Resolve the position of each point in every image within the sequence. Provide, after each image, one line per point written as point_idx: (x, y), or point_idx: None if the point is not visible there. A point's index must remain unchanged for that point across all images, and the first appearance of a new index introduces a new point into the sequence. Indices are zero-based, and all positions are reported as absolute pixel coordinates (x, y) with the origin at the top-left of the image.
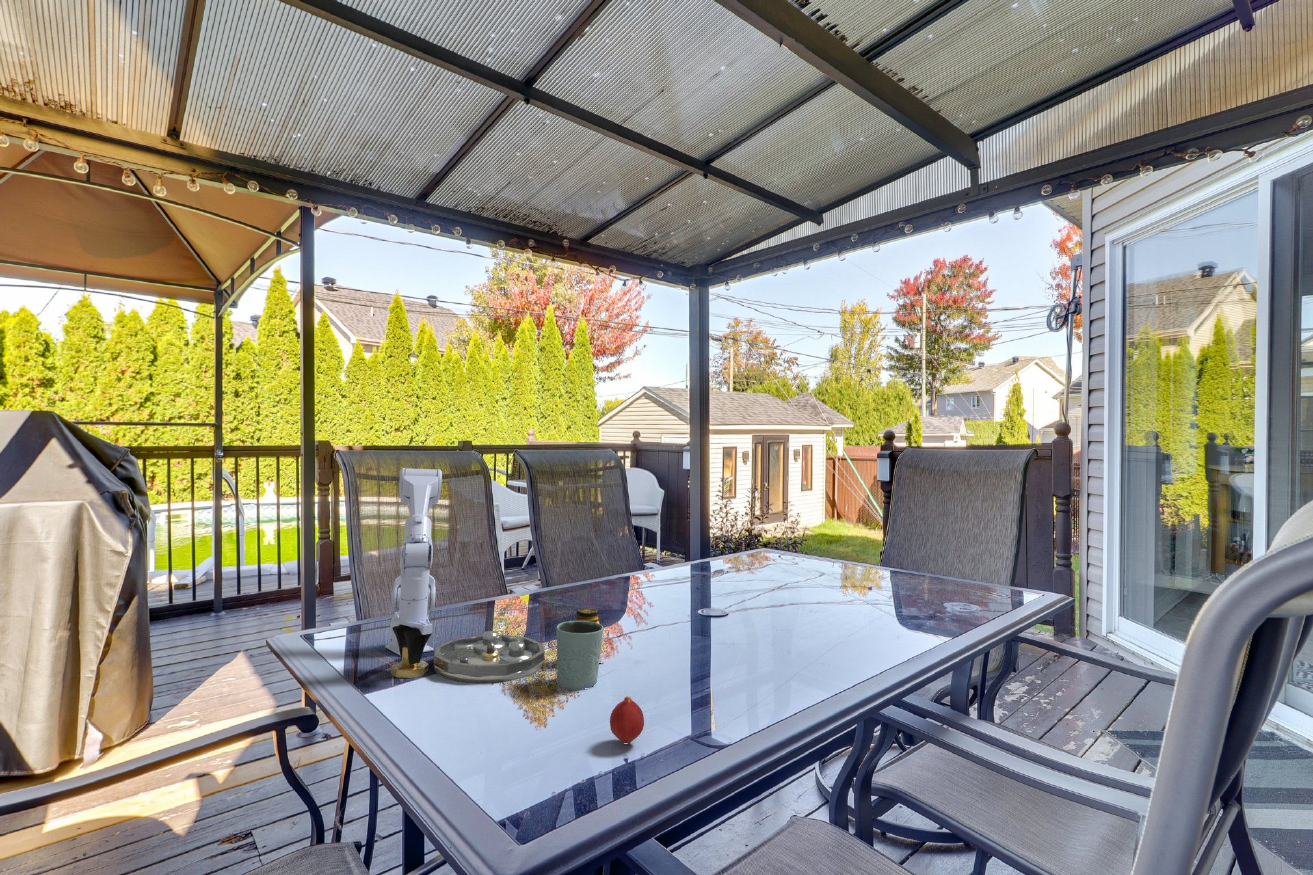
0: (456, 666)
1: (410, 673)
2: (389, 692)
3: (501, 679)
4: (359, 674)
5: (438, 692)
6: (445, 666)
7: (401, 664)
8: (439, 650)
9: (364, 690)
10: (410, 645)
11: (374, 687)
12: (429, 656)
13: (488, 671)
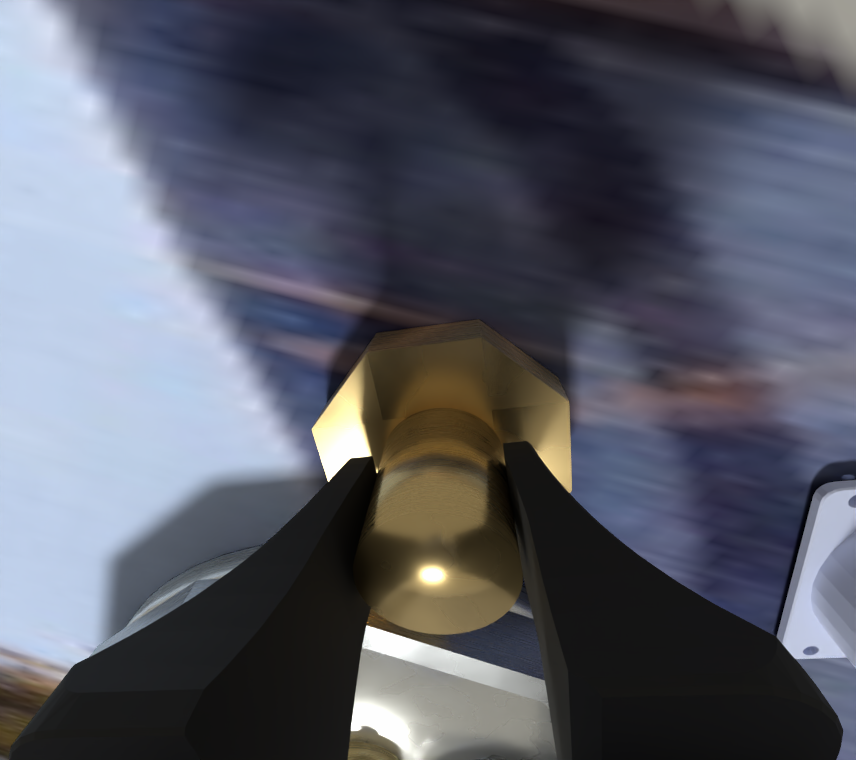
0: None
1: (318, 418)
2: (64, 205)
3: None
4: (620, 72)
5: (19, 454)
6: None
7: (498, 418)
8: (471, 677)
9: (152, 18)
10: (222, 580)
11: (206, 123)
12: None
13: None
